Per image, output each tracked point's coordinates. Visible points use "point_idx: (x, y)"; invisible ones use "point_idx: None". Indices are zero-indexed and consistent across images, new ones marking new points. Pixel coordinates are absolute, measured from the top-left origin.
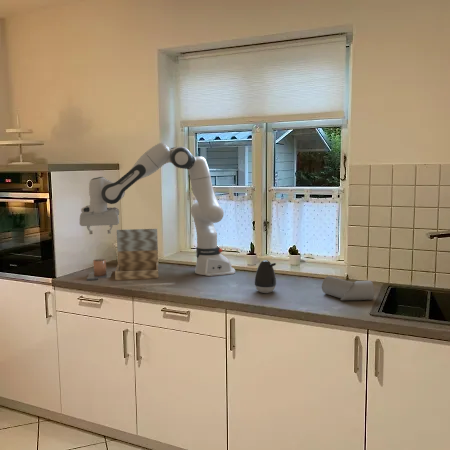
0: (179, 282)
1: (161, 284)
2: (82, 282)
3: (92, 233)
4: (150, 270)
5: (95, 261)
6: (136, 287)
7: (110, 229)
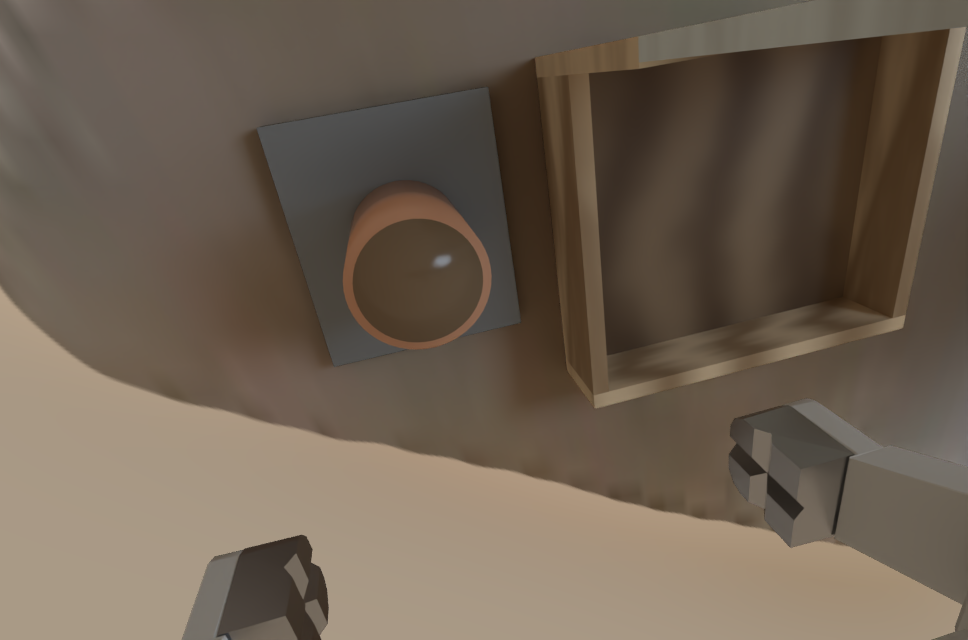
0: (940, 350)
1: (841, 399)
2: (325, 412)
3: (310, 559)
4: (851, 335)
5: (392, 345)
6: (706, 469)
7: (893, 546)
